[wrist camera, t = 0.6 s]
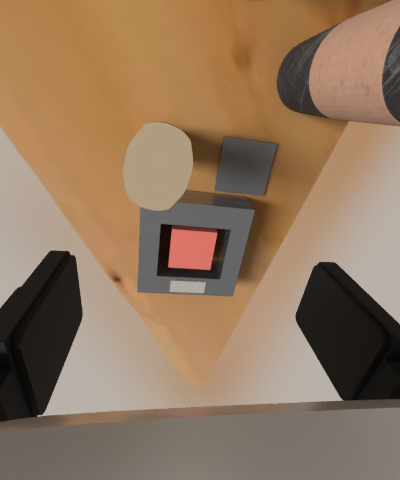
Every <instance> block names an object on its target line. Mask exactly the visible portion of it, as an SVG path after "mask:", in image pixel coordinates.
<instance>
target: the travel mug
mask: <svg viewBox="0 0 400 480" xmlns="http://www.w3.org/2000/svg"><path fill="white" fill-rule="evenodd" d="M277 89H278V94H279V97H280V99H281V101H282V102H283V103H284V105H285V106H286V107H288V108H289V109H291V110H293V111H296V112H300V113H305V114H310V115H315V116H320V117H325V118H331V119H337V120H346V121H356V122H365V123H374V124H384V125H393V126H400V0H391V1H389V2H387V3H384V4H382V5H380V6H377V7H375V8H373V9H370V10H368V11H366V12H363V13H361V14H358V15H356V16H354V17H351V18H349V19H347V20H345V21H343V22H341V23H339V24H337V25H335V26H333V27H331V28H329V29H327V30H325V31H323V32H321V33H319V34H317V35H316V36H314V37H312V38H310V39H308V40H306V41H304V42H302V43H300V44H299V45H297V46H296V47H294V48H293V49H292V50H291V51H290V52H289V53H288V54H287V56H286V57H285V58H284V60H283V62H282V64H281V66H280V69H279V72H278V77H277Z"/></svg>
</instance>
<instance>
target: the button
mask: <svg viewBox="0 0 400 480" xmlns="http://www.w3.org/2000/svg"><path fill="white" fill-rule="evenodd" d="M216 238H217V230H216V229H212V228H200V227H189V226H177V225H172V231H171V240H170V250H169V260H168V267H169V268H186V269H203V270H210V268H211V263H212V258H213V253H214V248H215V243H216Z"/></svg>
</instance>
